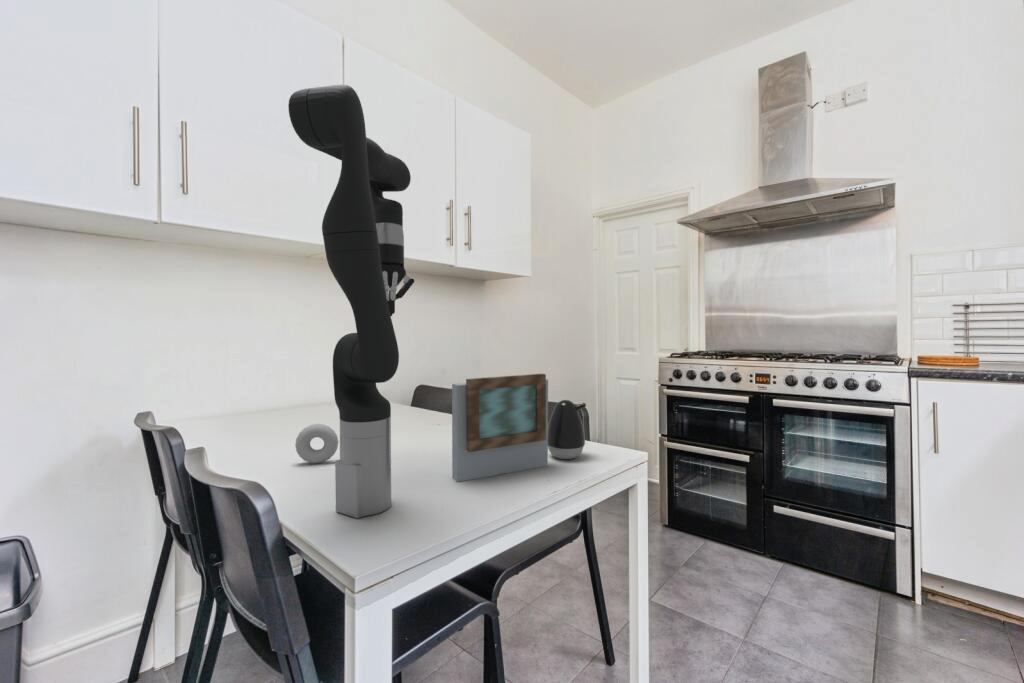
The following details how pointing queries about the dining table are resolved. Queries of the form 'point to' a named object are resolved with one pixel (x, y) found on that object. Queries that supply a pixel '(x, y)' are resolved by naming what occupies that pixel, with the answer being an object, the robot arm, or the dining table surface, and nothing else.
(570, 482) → the dining table surface
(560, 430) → the black electric kettle
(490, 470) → the wall board
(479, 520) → the dining table surface
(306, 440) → the donut
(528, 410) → the picture frame
